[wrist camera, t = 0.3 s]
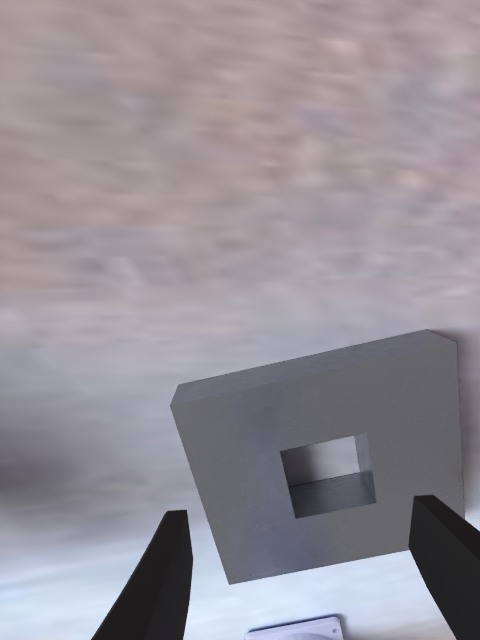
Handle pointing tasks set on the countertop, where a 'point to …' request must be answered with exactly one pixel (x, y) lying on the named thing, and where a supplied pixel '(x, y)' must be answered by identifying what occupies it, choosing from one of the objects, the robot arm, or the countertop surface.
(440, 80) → the countertop surface
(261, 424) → the plate
